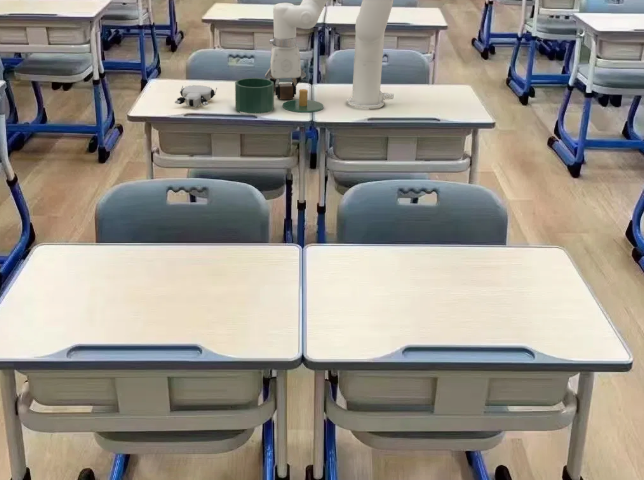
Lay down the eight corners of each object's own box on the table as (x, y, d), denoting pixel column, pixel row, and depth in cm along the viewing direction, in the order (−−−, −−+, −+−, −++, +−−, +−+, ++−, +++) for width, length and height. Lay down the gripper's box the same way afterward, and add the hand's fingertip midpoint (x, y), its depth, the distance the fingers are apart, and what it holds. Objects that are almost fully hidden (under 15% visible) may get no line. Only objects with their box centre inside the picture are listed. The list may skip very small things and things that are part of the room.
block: (290, 95, 285) (290, 82, 282) (293, 98, 281) (292, 86, 279) (278, 96, 284) (278, 83, 282) (280, 99, 280) (280, 86, 278)
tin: (270, 104, 279) (270, 77, 274) (276, 114, 268) (276, 87, 263) (233, 105, 277) (233, 78, 272) (237, 115, 266) (237, 88, 261)
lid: (319, 102, 282) (319, 84, 279) (327, 113, 270) (327, 95, 267) (279, 103, 280) (280, 85, 277) (286, 115, 268) (286, 96, 265)
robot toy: (209, 113, 270) (218, 97, 283) (208, 99, 268) (217, 84, 280) (173, 111, 271) (183, 96, 284) (172, 97, 269) (182, 83, 281)
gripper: (261, 45, 269) (263, 101, 278) (311, 43, 271) (311, 98, 280) (258, 41, 275) (260, 95, 284) (307, 39, 278) (307, 93, 287)
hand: (285, 96), depth 282 cm, fingers closed on block, 4 cm apart
